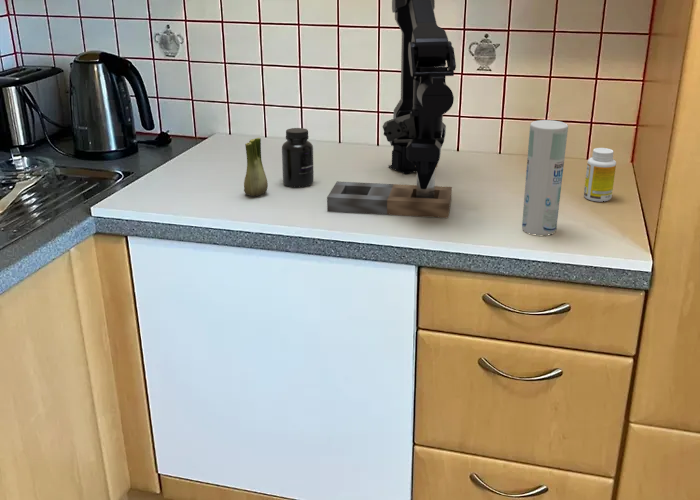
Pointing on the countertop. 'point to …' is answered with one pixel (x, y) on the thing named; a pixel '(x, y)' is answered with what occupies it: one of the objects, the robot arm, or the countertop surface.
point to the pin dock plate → (388, 200)
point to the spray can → (544, 176)
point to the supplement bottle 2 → (600, 175)
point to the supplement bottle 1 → (297, 159)
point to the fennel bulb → (254, 169)
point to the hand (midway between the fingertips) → (425, 181)
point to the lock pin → (429, 190)
